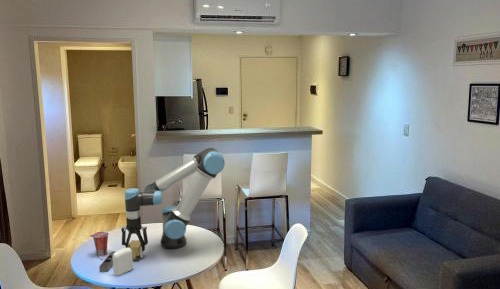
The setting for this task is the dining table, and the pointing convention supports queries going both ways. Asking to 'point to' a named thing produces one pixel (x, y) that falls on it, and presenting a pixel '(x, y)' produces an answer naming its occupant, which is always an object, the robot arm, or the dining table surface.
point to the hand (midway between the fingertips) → (135, 256)
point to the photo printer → (122, 261)
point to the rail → (107, 263)
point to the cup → (100, 242)
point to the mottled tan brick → (135, 248)
